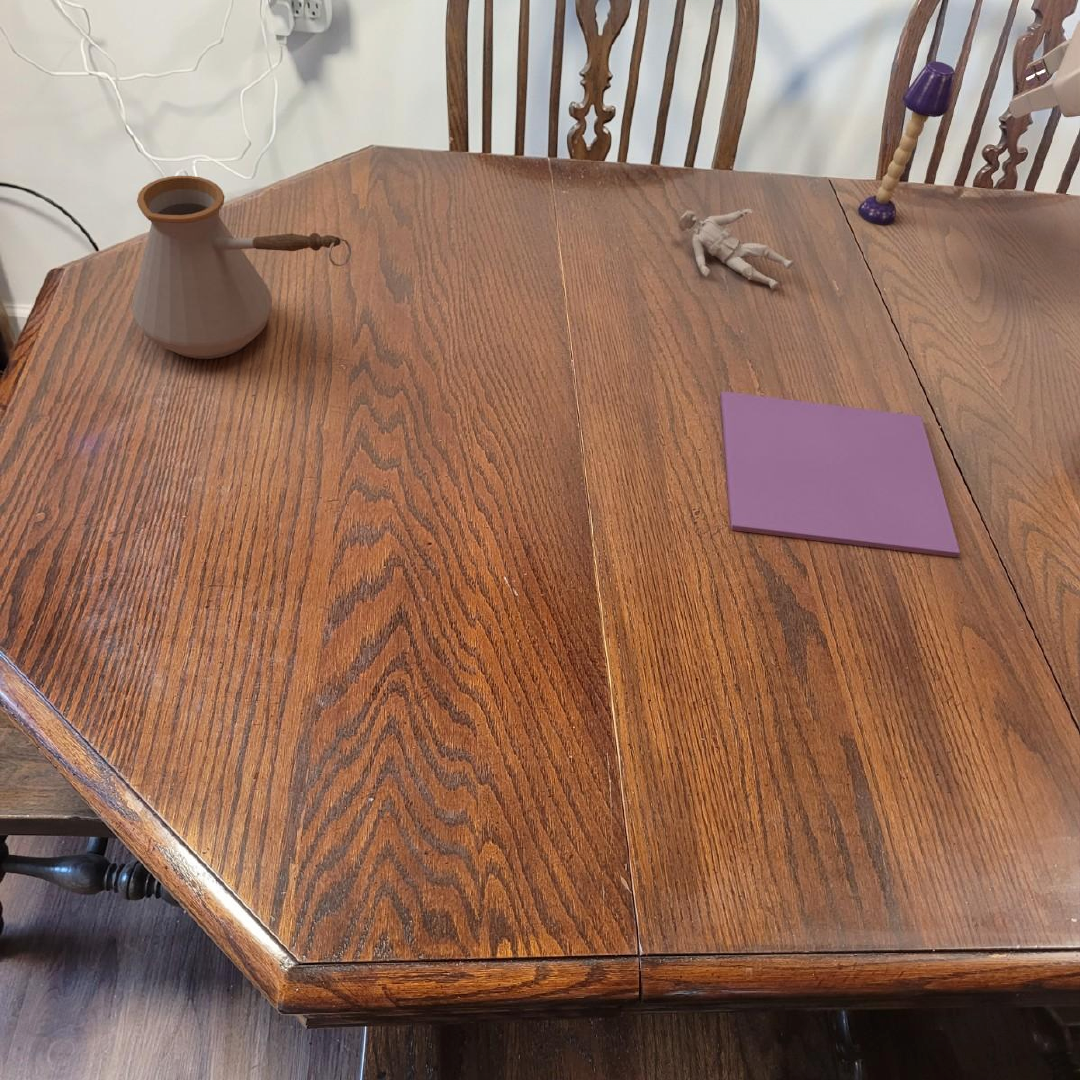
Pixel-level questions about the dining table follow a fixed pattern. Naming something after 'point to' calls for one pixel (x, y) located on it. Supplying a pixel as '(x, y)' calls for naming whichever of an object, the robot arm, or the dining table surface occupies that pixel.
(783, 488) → the mat
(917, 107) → the toy lamp
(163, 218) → the coffee pot
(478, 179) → the dining table surface
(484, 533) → the dining table surface
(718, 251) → the soldier figure
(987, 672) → the dining table surface
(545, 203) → the dining table surface
